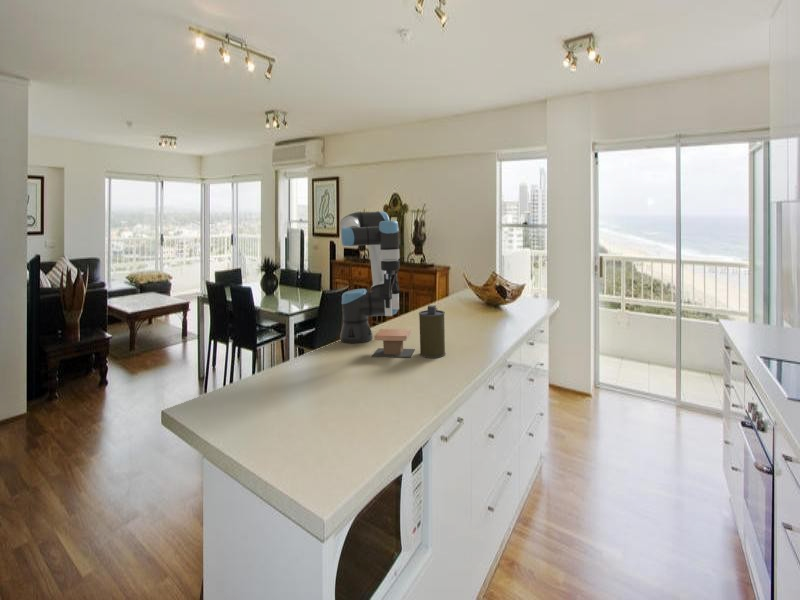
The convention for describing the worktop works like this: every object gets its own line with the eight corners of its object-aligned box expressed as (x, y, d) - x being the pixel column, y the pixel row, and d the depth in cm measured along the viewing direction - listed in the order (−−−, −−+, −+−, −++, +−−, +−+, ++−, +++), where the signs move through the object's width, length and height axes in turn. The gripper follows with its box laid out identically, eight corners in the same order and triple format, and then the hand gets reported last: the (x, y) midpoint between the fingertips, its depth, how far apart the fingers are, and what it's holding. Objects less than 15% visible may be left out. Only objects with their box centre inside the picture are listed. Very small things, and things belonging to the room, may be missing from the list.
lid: (374, 340, 173) (374, 335, 173) (380, 333, 184) (380, 328, 183) (406, 340, 170) (406, 336, 170) (411, 333, 181) (410, 329, 181)
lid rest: (371, 357, 174) (370, 340, 173) (378, 349, 185) (377, 333, 184) (410, 358, 171) (410, 341, 170) (415, 350, 182) (414, 334, 181)
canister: (444, 358, 169) (443, 308, 166) (418, 357, 171) (416, 308, 168) (446, 350, 180) (446, 303, 176) (422, 350, 182) (420, 303, 178)
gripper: (388, 258, 184) (390, 306, 188) (373, 263, 160) (375, 318, 164) (405, 257, 183) (406, 306, 186) (392, 262, 159) (394, 318, 162)
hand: (392, 312), depth 175 cm, fingers open, 13 cm apart
